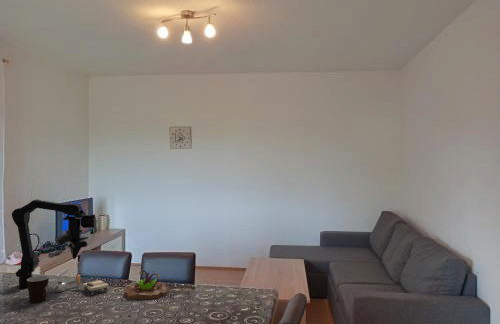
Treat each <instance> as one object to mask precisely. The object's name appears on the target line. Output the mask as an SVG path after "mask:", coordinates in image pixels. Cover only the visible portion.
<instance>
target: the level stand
mask: <svg viewBox="0 0 500 324" xmlns="http://www.w3.org/2000/svg"><path fill="white" fill-rule="evenodd" d="M82 286H83V288H70V289H69V292H88V290H89V291H90V296H95V294H96V293H95V292H96V291H97V290H101V289H103V293H107V292H108V287H109V284H108V283H106V282H105V281H103V280H101V279H98V280H97V279H96V280H93V281H89V282H84V283H83V285H82Z"/></svg>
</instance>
